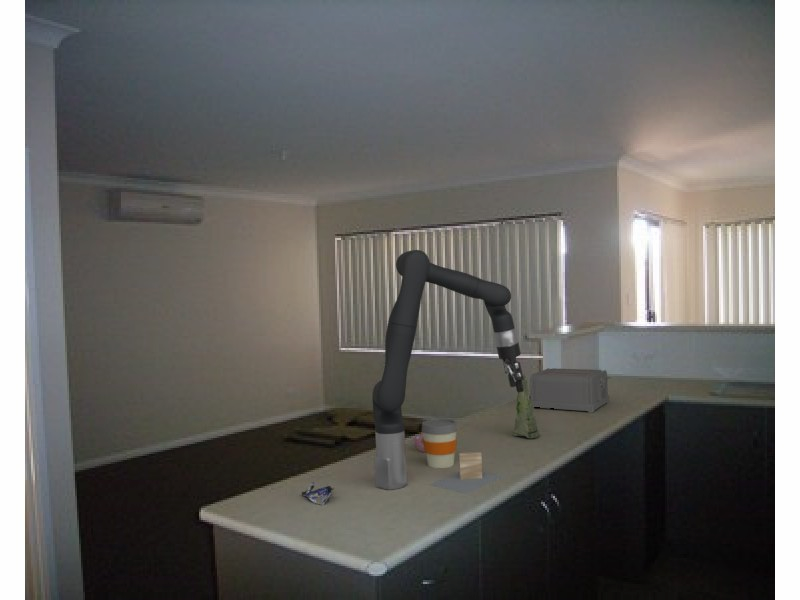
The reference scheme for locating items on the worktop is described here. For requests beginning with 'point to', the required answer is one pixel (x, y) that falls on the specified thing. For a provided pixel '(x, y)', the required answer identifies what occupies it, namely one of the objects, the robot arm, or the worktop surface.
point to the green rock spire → (525, 415)
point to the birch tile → (470, 465)
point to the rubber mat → (465, 482)
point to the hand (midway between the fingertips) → (517, 389)
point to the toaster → (569, 389)
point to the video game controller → (419, 442)
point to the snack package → (318, 493)
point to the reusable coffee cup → (439, 442)
